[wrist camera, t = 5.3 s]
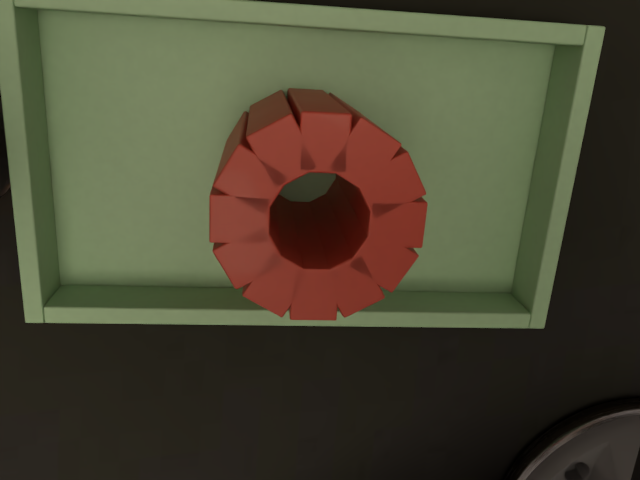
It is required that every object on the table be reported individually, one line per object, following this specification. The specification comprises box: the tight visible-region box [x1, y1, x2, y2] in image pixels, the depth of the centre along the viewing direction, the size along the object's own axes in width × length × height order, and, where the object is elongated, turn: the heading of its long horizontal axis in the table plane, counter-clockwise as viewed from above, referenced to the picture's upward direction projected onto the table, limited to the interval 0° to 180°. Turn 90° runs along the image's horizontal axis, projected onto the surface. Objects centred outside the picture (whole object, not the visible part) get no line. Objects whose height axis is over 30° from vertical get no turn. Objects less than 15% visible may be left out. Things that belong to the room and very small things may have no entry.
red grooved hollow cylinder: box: [209, 88, 428, 320], centre depth 23 cm, size 7×7×8 cm
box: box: [0, 0, 605, 329], centre depth 26 cm, size 24×14×3 cm, turn 86°
